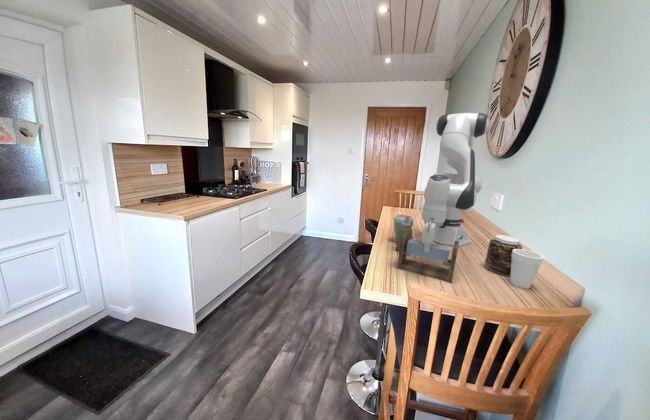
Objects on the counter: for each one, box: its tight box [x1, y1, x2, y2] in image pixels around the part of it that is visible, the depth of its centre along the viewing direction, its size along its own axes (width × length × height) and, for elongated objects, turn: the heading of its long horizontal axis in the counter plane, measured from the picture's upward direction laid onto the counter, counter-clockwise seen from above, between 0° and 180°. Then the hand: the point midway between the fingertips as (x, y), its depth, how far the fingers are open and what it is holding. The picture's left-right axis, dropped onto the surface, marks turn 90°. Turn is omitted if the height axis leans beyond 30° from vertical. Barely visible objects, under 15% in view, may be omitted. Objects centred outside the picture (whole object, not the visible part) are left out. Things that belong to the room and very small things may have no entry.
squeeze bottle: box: [395, 215, 414, 252], centre depth 125 cm, size 8×8×18 cm
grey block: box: [406, 238, 451, 263], centre depth 104 cm, size 16×4×5 cm, turn 60°
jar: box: [483, 234, 523, 277], centre depth 109 cm, size 12×12×15 cm
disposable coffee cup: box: [393, 214, 415, 242], centre depth 137 cm, size 11×11×15 cm
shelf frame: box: [396, 231, 459, 284], centre depth 105 cm, size 21×10×14 cm, turn 60°
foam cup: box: [509, 248, 544, 289], centre depth 98 cm, size 10×9×13 cm
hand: (428, 248), depth 104 cm, fingers open, 8 cm apart
